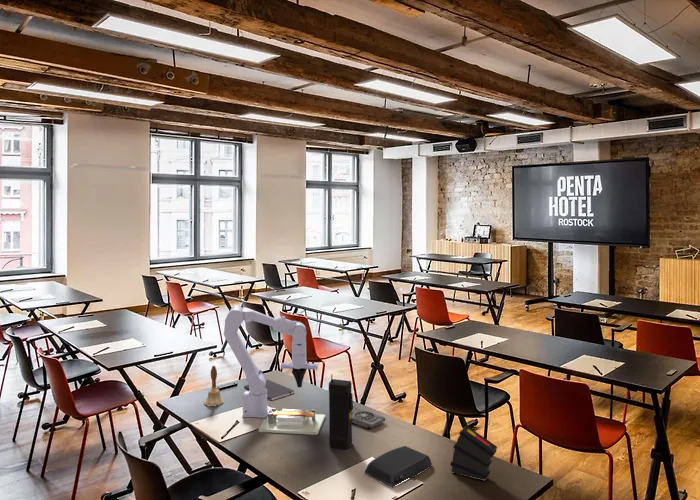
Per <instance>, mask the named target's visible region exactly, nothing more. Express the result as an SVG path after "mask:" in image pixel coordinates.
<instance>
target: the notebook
mask: <svg viewBox="0 0 700 500" xmlns="http://www.w3.org/2000/svg"><path fill="white" fill-rule="evenodd" d="M243 387H244V389H245V390H247V391H249V384H246V385H244V386H243ZM265 388H266V389H267V400H269V401H273V400H276V399H280V398H283V397H287V396H290V395H293V394H294V393H295V390H293V389H291V388H289V387H287V386H284V385H282V384H280V383H277V382H275V381H272V380H270V379H266V383H265Z"/></svg>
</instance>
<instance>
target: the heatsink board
mask: <svg viewBox="0 0 700 500" xmlns="http://www.w3.org/2000/svg"><path fill="white" fill-rule="evenodd" d="M272 410H274V411H277V408H276V407H272V408H271V411H270V412H269V413H268V415H267V416H266V417H265V418H264V421H263V422H262V423H261V425H260V426H259V428H258V433H259V432H260V433H277V434H295V435H297V434H298V435H312V436H313V435H314V436H318V434H319V432H320V430H321V428H322V426H323V423H324V421H325V419H326V414H322V413H320V414H318V413H316V409H315V408H314V409H313V408H312V409H311V412H314V416H313V417H303V416H282V415H278V416H273V413H271V412H272ZM281 411H291V412H309V410H308V409H291V408H290V409H289V408H282V410H281Z"/></svg>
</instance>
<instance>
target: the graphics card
mask: <svg viewBox="0 0 700 500" xmlns="http://www.w3.org/2000/svg"><path fill="white" fill-rule="evenodd" d="M383 422H386V416H384V415H380V414H377V413H374V412H372V411H369V410H366V409H362V408H360V407H357V406H356V405H355V404H353V410H352V423H353V424H356V425H358V426H361V427H363V428H366V429H367V428H371V429H372V428H373V429H374V427H376V425H377V426H379V425H381V424H382V423H383Z"/></svg>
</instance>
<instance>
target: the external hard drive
mask: <svg viewBox="0 0 700 500" xmlns="http://www.w3.org/2000/svg"><path fill="white" fill-rule="evenodd" d="M431 465H432V466H433V464H432V461H431V458H430V456H429V455H427V454H425V453H422V452H421V451H417V450H415V449H413V448H411V447H409V446H407V445H403V446H402V445H401V446H399V447H396V448H393V449H390V450H388V451H386V452H384V453H382V454H381V455H378V456H377V457H375V458H374V459H373V460H371V461H370V462H368V464H367V466H366V467H365V470H364V473H363V474H365V475H367V476H368V477H370V478H372V479H374V480H376V481H378V482H379V481H381V482H383V483H384V484H383V483H382V484H383V485H385V484H386V485H385V486H387V485H388V486H387V487H389V486H390V487H389V488H391V487H392V488H394V487H393V486H395V485H397V484H399V483H401V482H402V481H404V480H406V479H408V478H411V477H413V476H415V475H417V474H418V473H420V472H422V471H424V470H425V469H427V468H428V467H430V466H431ZM432 466H431V467H432ZM431 467H430V468H431ZM428 469H429V468H428ZM428 469H427V470H428ZM425 471H426V470H425ZM425 471H424V472H425ZM422 473H423V472H422ZM417 476H418V475H417ZM381 482H380V483H381ZM395 487H396V486H395Z"/></svg>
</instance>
